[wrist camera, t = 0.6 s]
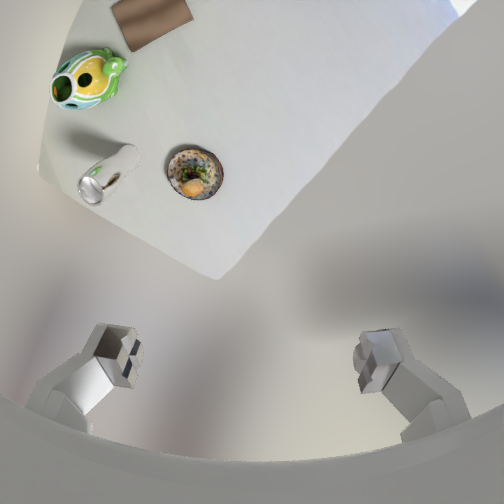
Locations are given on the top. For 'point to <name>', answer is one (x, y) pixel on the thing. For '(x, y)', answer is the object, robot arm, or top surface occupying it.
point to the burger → (195, 174)
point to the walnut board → (149, 19)
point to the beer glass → (108, 175)
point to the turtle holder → (86, 79)
